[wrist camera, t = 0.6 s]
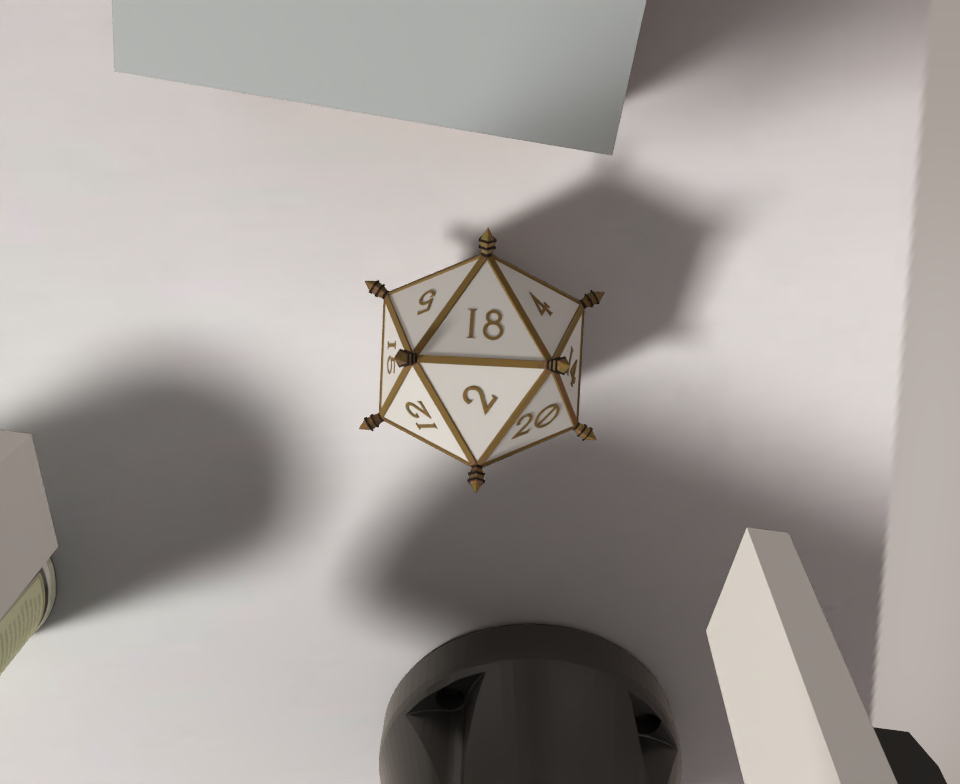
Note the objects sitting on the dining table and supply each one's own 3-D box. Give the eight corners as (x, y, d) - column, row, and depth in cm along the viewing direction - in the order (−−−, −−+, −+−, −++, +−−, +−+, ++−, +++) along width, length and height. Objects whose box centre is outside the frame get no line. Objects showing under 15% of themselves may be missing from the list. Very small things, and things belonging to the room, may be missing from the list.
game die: (511, 264, 33) (684, 240, 24) (502, 456, 33) (668, 498, 25) (315, 239, 28) (445, 199, 20) (308, 463, 28) (431, 518, 20)
